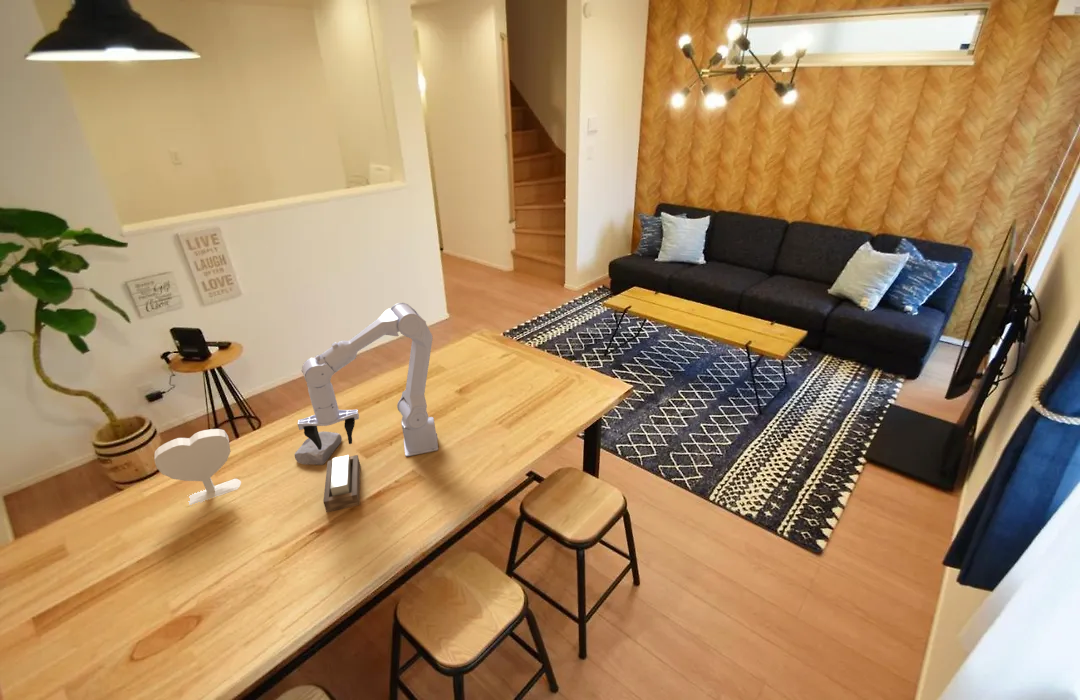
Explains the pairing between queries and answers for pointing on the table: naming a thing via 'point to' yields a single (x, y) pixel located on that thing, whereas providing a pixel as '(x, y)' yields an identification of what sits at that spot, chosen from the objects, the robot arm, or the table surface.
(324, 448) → the stone block
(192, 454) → the heart sculpture
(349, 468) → the rectangular block
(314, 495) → the table surface
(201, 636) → the table surface
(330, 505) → the shallow brown tray
